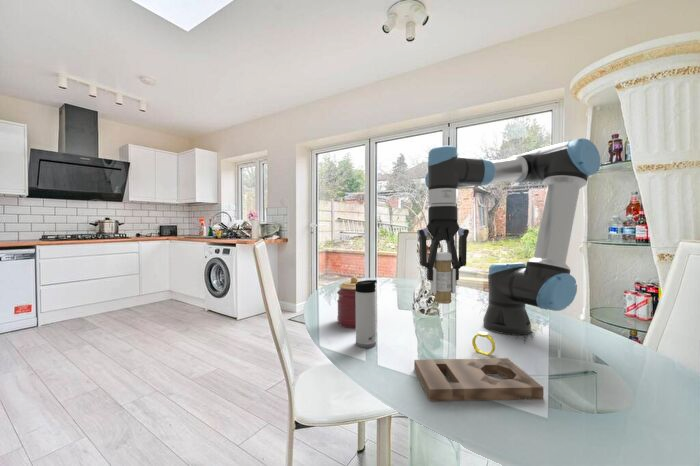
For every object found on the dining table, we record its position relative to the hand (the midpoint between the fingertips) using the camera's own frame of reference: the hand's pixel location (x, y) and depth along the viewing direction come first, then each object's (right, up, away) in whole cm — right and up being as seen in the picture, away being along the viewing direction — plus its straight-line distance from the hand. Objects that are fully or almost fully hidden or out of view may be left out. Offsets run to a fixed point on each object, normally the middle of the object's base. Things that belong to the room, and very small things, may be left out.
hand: (442, 292), depth 82 cm
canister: (-23, -18, +33) cm, 45 cm away
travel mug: (-20, -19, +12) cm, 30 cm away
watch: (+13, -19, +5) cm, 23 cm away
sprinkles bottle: (0, -3, 0) cm, 3 cm away
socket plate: (+3, -19, -11) cm, 22 cm away
